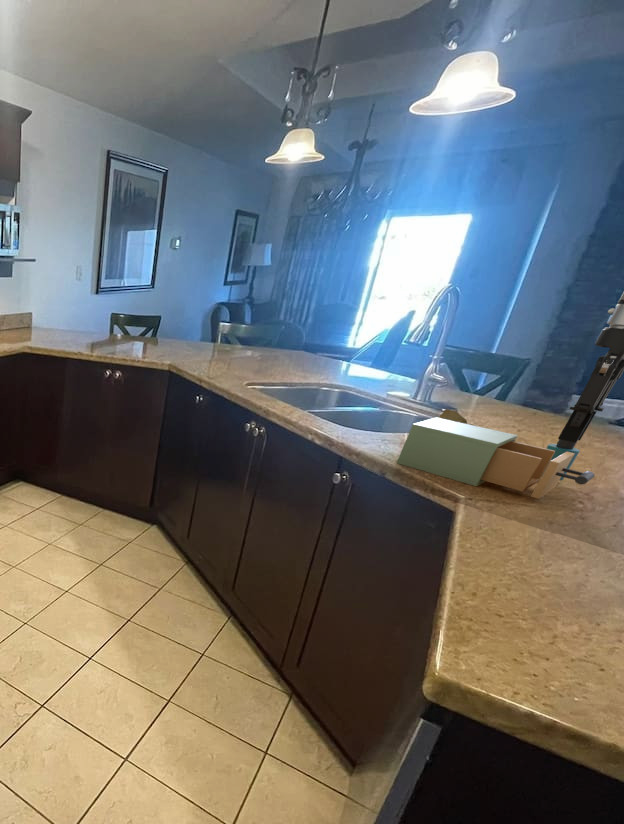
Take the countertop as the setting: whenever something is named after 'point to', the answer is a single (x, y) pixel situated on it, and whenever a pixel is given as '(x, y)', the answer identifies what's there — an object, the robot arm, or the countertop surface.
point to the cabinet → (452, 449)
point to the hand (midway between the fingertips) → (569, 439)
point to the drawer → (530, 468)
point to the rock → (453, 416)
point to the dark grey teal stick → (563, 451)
